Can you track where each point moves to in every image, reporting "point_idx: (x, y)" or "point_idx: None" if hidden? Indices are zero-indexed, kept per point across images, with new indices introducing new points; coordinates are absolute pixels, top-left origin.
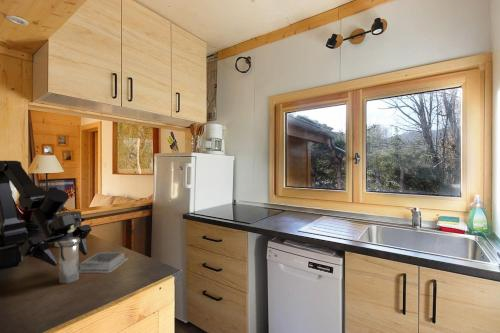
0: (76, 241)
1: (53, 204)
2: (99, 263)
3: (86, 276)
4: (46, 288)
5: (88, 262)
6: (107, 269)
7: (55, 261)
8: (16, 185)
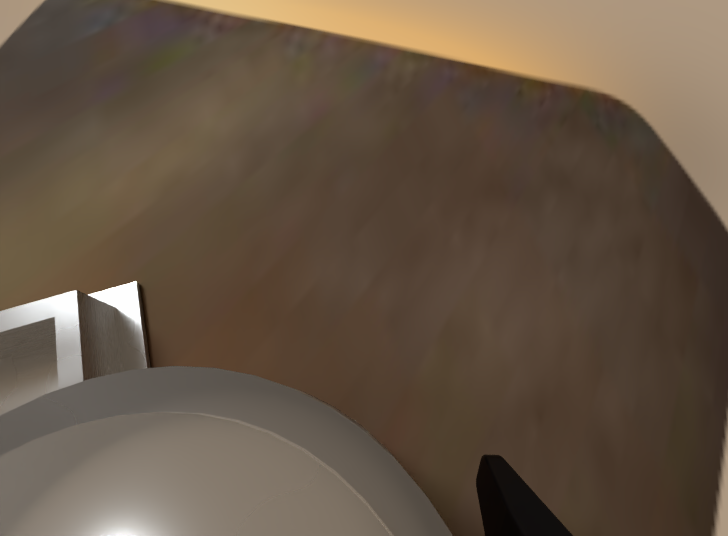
0: (163, 374)
1: None
2: (83, 377)
3: None
4: (468, 507)
5: None
6: (111, 317)
7: (509, 480)
8: None
